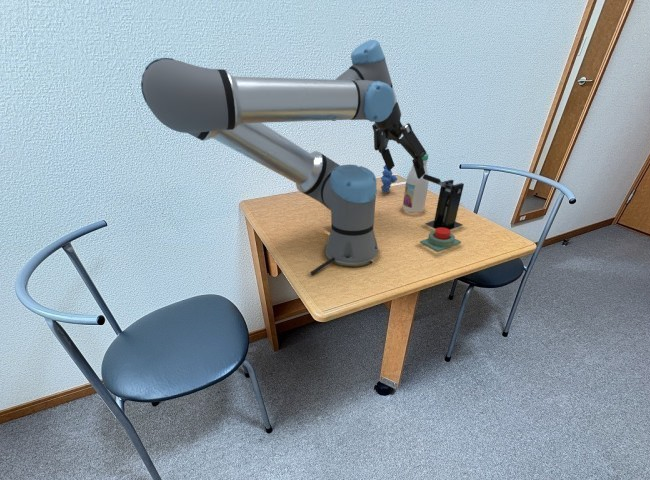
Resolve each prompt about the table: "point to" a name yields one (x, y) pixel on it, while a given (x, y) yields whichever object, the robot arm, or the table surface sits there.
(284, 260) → the table surface
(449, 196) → the bracket
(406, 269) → the table surface
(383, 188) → the grapes
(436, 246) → the button box
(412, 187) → the milk bottle
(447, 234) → the button
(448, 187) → the lever
